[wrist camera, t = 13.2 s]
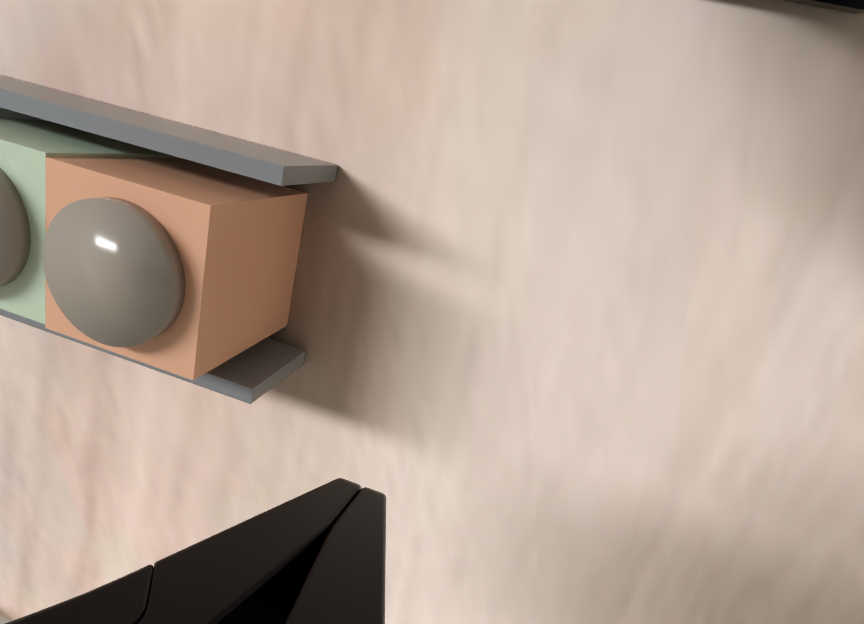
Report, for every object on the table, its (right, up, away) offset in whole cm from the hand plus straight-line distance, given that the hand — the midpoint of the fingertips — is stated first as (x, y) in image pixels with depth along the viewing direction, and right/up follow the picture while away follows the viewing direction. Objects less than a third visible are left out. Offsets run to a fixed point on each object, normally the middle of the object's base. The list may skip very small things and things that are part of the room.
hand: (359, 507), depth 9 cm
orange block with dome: (-7, +6, +13) cm, 16 cm away
